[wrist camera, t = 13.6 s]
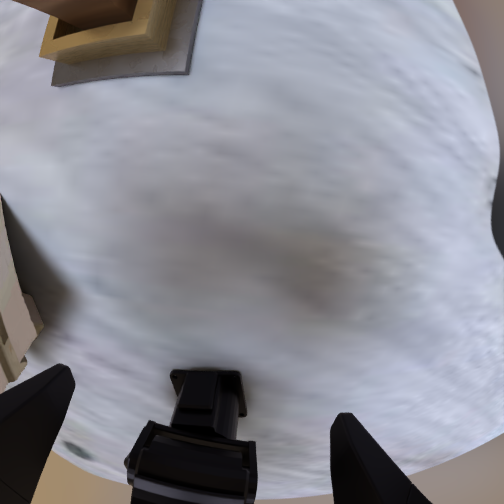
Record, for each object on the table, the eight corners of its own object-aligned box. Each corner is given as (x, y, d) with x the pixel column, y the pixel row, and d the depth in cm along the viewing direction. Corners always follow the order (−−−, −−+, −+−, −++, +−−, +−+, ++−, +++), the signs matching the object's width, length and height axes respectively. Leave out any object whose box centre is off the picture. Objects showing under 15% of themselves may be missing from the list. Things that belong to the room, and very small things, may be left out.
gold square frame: (188, 74, 16) (166, 56, 11) (58, 87, 16) (21, 82, 11) (214, -46, 12) (203, -78, 8) (88, -24, 12) (61, -42, 7)
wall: (11, 305, 29) (33, 408, 22) (-40, 291, 21) (-30, 405, 14) (62, 219, 27) (93, 339, 20) (-1, 189, 19) (-4, 323, 12)
